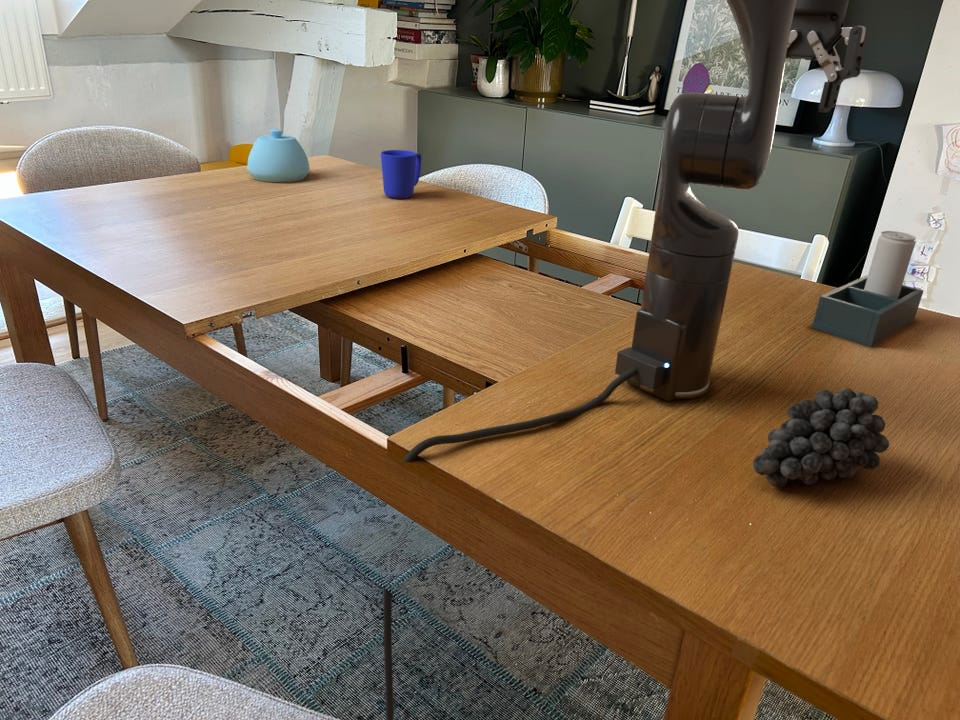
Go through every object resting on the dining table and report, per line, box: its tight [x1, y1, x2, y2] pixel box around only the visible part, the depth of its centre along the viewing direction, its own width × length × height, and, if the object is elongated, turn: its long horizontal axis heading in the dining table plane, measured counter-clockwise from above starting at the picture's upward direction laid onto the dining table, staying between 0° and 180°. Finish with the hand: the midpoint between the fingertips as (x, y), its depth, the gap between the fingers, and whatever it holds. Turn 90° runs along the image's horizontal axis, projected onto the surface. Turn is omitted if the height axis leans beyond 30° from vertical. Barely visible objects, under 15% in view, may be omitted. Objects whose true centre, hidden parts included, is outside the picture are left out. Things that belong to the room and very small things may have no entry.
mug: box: [380, 149, 422, 200], centre depth 172 cm, size 8×12×10 cm
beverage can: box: [864, 230, 917, 299], centre depth 110 cm, size 5×5×12 cm
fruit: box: [752, 388, 890, 488], centre depth 71 cm, size 9×8×15 cm
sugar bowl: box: [246, 128, 311, 183], centre depth 183 cm, size 15×15×12 cm
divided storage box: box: [811, 274, 924, 348], centre depth 110 cm, size 9×16×5 cm, turn 132°
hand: (793, 108), depth 99 cm, fingers open, 8 cm apart
